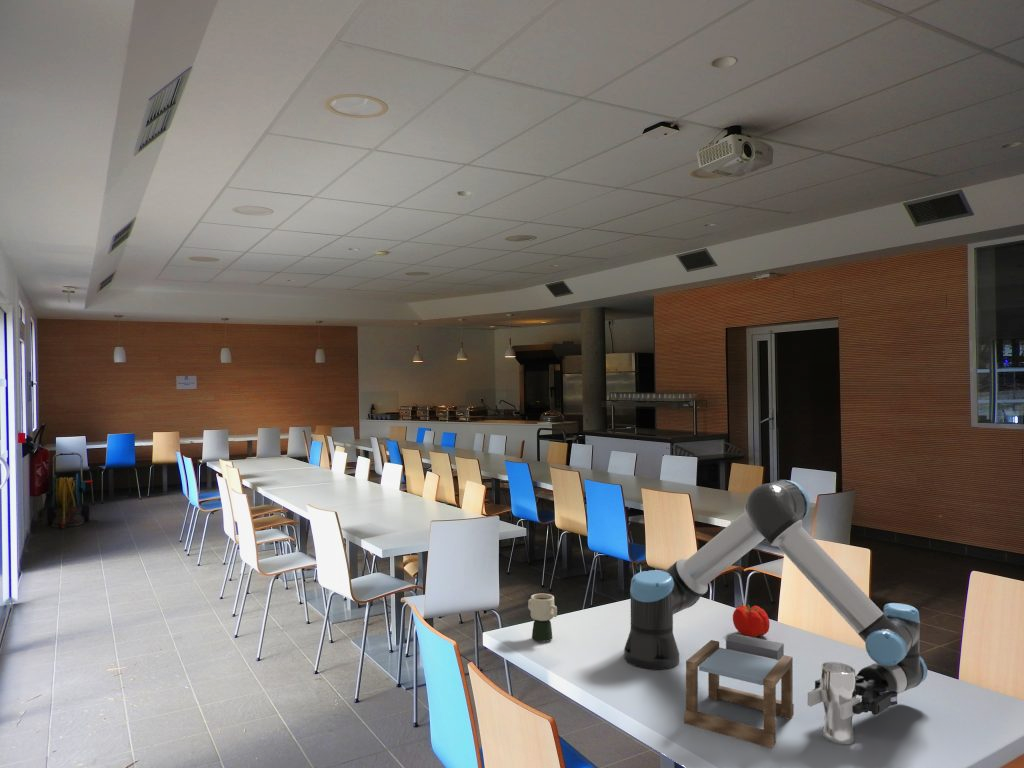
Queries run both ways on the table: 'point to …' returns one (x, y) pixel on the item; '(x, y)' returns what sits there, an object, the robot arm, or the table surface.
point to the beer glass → (837, 700)
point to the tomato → (751, 621)
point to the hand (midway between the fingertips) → (825, 705)
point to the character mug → (542, 615)
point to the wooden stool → (740, 699)
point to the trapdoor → (744, 659)
